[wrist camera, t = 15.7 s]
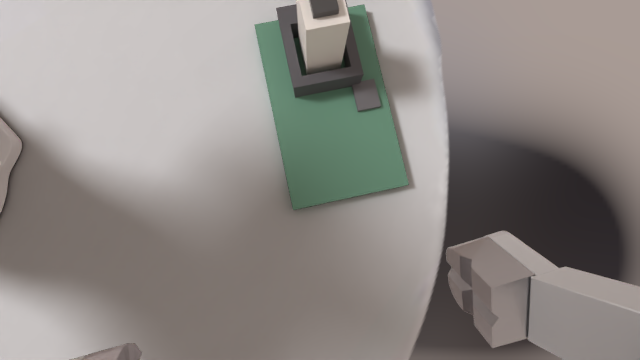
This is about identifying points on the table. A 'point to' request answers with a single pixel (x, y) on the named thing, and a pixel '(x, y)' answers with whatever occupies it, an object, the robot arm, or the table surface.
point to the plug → (322, 33)
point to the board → (330, 115)
